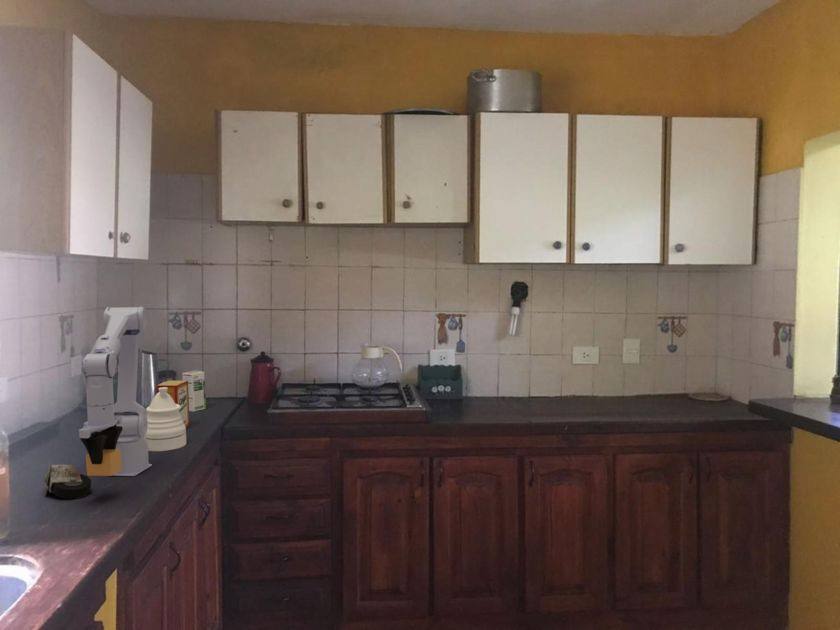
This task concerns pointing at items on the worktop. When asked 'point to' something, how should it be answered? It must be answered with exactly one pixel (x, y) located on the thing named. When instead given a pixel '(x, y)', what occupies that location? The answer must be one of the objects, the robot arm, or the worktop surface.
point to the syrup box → (196, 390)
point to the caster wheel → (67, 481)
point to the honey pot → (164, 423)
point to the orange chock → (105, 464)
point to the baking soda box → (179, 396)
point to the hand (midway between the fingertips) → (103, 460)
